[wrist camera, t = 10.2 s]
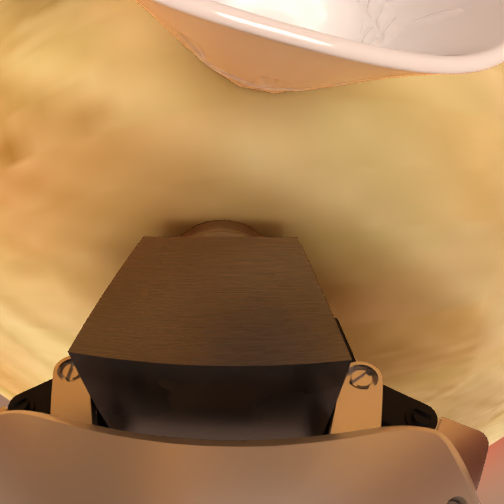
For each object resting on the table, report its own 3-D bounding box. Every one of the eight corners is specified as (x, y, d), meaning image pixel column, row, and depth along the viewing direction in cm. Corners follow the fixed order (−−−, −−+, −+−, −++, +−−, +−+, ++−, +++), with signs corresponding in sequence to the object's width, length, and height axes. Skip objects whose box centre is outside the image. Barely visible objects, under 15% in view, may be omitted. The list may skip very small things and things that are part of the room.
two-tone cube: (284, 351, 14) (305, 470, 8) (163, 349, 14) (135, 465, 8) (297, 237, 11) (352, 359, 5) (143, 236, 11) (67, 351, 5)
